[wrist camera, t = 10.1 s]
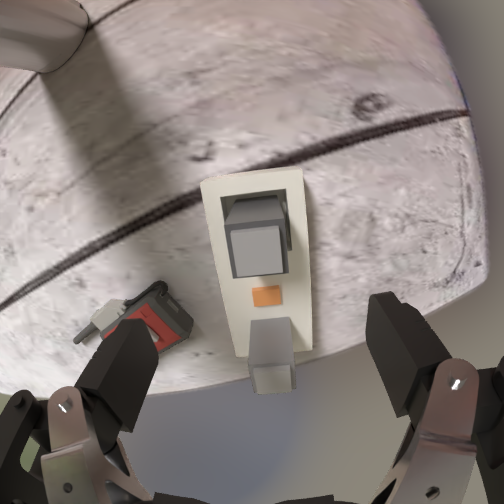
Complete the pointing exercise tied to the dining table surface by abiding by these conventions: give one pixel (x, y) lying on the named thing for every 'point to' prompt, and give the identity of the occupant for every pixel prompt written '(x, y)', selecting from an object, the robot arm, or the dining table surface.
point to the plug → (256, 237)
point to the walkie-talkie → (145, 317)
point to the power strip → (265, 278)
